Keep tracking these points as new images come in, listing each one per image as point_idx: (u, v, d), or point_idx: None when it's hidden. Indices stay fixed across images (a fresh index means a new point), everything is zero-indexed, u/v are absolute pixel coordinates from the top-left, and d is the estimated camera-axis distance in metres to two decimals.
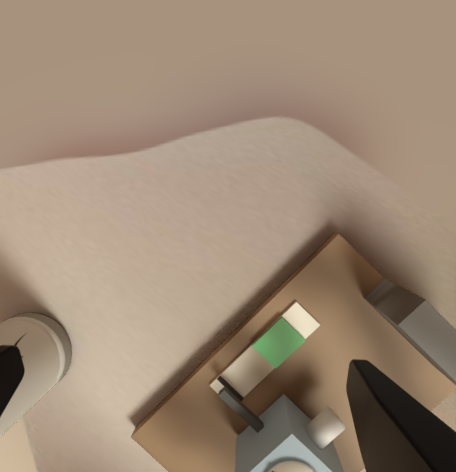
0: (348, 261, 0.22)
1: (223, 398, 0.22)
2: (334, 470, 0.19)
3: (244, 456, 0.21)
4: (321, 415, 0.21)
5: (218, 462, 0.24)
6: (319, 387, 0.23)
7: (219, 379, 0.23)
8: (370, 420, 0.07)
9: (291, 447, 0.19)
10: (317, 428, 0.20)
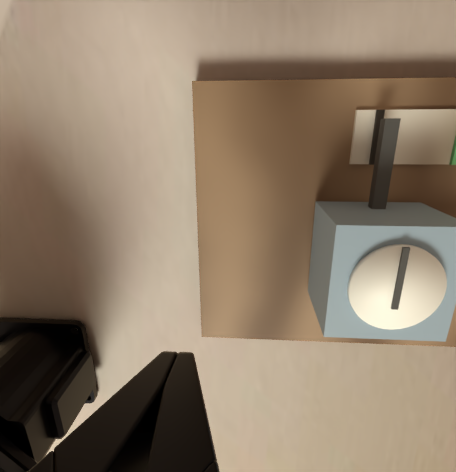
0: None
1: (387, 128, 0.13)
2: (448, 311, 0.13)
3: (348, 214, 0.13)
4: None
5: (261, 211, 0.16)
6: None
7: (381, 111, 0.14)
8: None
9: (454, 242, 0.12)
10: None
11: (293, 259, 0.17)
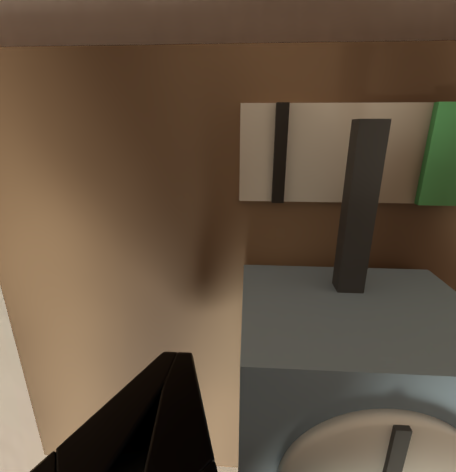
0: None
1: (364, 139, 0.06)
2: None
3: (285, 314, 0.06)
4: None
5: (103, 276, 0.10)
6: None
7: (282, 106, 0.07)
8: None
9: None
10: None
11: (166, 350, 0.10)
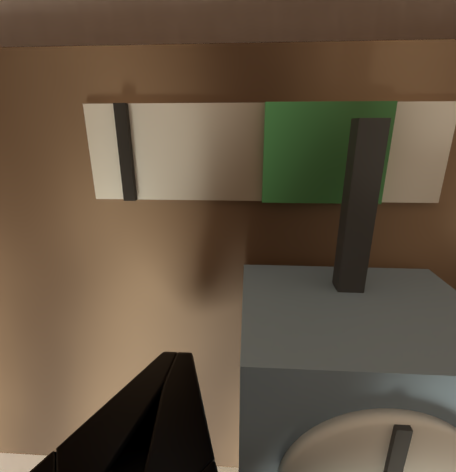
0: None
1: (364, 138, 0.06)
2: None
3: (285, 314, 0.06)
4: None
5: None
6: None
7: (118, 107, 0.08)
8: None
9: None
10: None
11: (52, 346, 0.11)
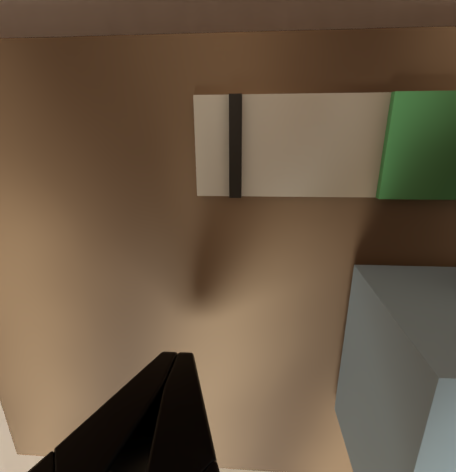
0: None
1: None
2: None
3: (441, 319, 0.06)
4: None
5: (65, 273, 0.09)
6: None
7: (235, 98, 0.07)
8: None
9: None
10: None
11: (132, 349, 0.10)
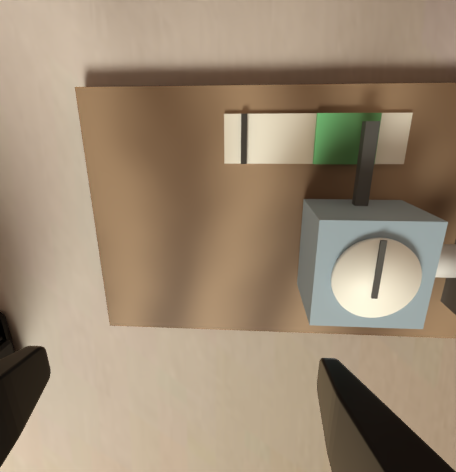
0: None
1: (368, 130, 0.14)
2: (424, 300, 0.14)
3: (332, 210, 0.14)
4: (448, 246, 0.15)
5: (151, 207, 0.17)
6: None
7: (244, 115, 0.15)
8: (334, 418, 0.07)
9: (428, 236, 0.13)
10: None
11: (185, 252, 0.18)
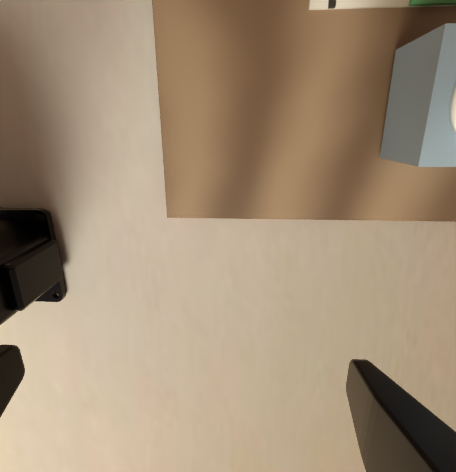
0: None
1: None
2: None
3: None
4: None
5: (222, 69, 0.16)
6: None
7: None
8: (370, 420, 0.07)
9: None
10: None
11: (256, 124, 0.17)
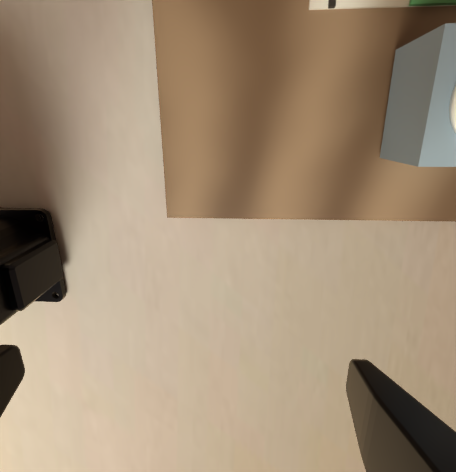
0: None
1: None
2: None
3: None
4: None
5: (222, 69, 0.16)
6: None
7: None
8: (370, 420, 0.07)
9: None
10: None
11: (256, 124, 0.17)
